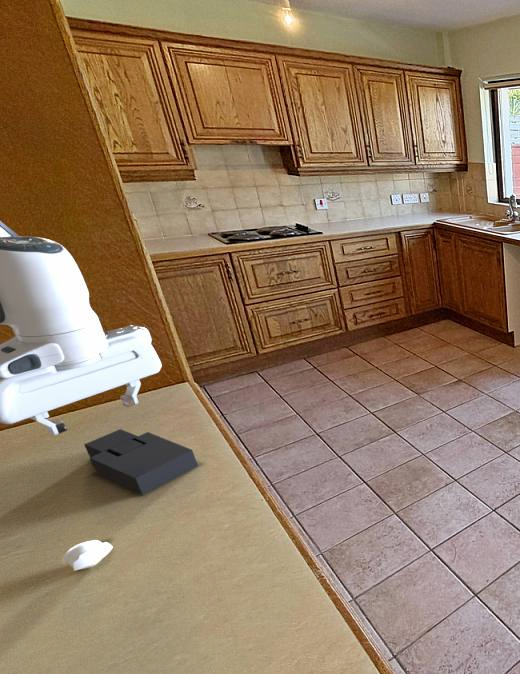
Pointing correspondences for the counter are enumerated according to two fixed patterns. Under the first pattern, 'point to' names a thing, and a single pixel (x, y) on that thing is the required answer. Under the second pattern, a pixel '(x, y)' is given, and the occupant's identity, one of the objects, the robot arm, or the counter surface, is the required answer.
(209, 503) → the counter surface
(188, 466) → the base pad
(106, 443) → the pad
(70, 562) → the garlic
